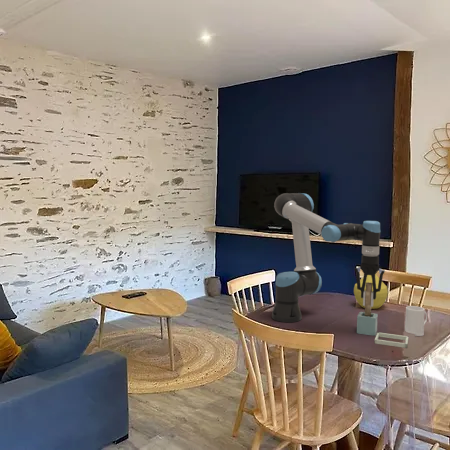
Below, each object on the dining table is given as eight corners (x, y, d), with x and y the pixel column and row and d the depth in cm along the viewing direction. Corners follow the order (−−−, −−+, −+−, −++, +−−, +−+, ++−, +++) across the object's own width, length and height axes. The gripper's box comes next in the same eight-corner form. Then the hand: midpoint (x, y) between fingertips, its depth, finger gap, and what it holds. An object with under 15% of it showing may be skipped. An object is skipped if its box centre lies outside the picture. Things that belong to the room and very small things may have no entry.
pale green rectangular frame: (374, 345, 197) (374, 339, 197) (377, 337, 207) (377, 332, 207) (406, 350, 192) (407, 344, 192) (408, 342, 202) (408, 336, 202)
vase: (346, 303, 267) (348, 252, 264) (374, 301, 272) (375, 251, 270) (365, 312, 249) (367, 257, 247) (394, 309, 255) (396, 256, 252)
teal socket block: (356, 335, 211) (357, 316, 210) (359, 330, 218) (359, 311, 217) (374, 337, 207) (375, 318, 207) (376, 332, 215) (377, 313, 214)
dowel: (363, 326, 212) (365, 283, 210) (364, 324, 214) (366, 282, 212) (369, 326, 210) (371, 284, 208) (370, 325, 213) (372, 282, 211)
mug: (420, 329, 221) (422, 304, 220) (433, 334, 213) (435, 309, 211) (400, 331, 217) (401, 306, 216) (412, 337, 209) (414, 311, 208)
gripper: (351, 254, 209) (349, 305, 211) (387, 257, 202) (385, 309, 205) (353, 252, 216) (351, 301, 218) (389, 255, 209) (387, 305, 211)
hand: (368, 305), depth 211 cm, fingers closed on dowel, 3 cm apart
